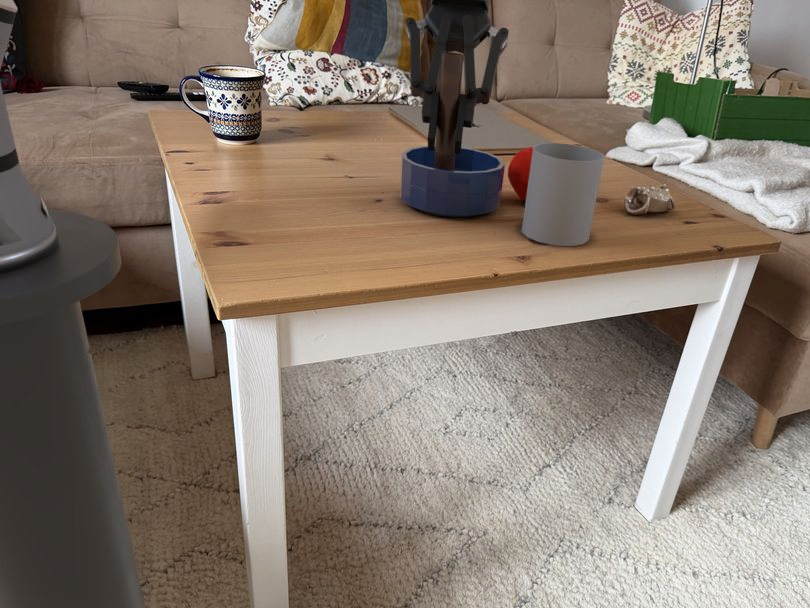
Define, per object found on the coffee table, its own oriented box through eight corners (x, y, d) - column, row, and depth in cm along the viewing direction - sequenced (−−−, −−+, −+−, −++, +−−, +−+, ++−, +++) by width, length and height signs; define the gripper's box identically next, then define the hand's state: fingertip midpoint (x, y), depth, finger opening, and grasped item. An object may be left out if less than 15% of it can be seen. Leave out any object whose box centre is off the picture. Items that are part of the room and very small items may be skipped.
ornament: (647, 200, 99) (653, 176, 97) (682, 215, 94) (689, 190, 93) (607, 205, 95) (612, 180, 94) (641, 221, 90) (647, 194, 89)
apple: (500, 190, 97) (506, 138, 93) (553, 193, 98) (561, 142, 94) (508, 208, 90) (515, 152, 86) (565, 211, 91) (575, 156, 87)
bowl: (402, 217, 83) (404, 169, 80) (397, 186, 94) (399, 142, 91) (507, 222, 85) (513, 175, 82) (489, 191, 96) (494, 148, 93)
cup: (548, 249, 78) (562, 163, 73) (508, 226, 84) (518, 144, 79) (602, 241, 82) (619, 159, 77) (560, 219, 88) (573, 141, 83)
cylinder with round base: (427, 190, 85) (436, 54, 77) (424, 180, 89) (432, 50, 81) (461, 192, 86) (473, 57, 78) (457, 182, 90) (468, 53, 82)
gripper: (518, 15, 91) (505, 168, 85) (403, 2, 91) (382, 156, 85) (525, -30, 84) (511, 135, 78) (400, -43, 84) (377, 121, 77)
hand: (444, 145), depth 81 cm, fingers closed on cylinder with round base, 3 cm apart
